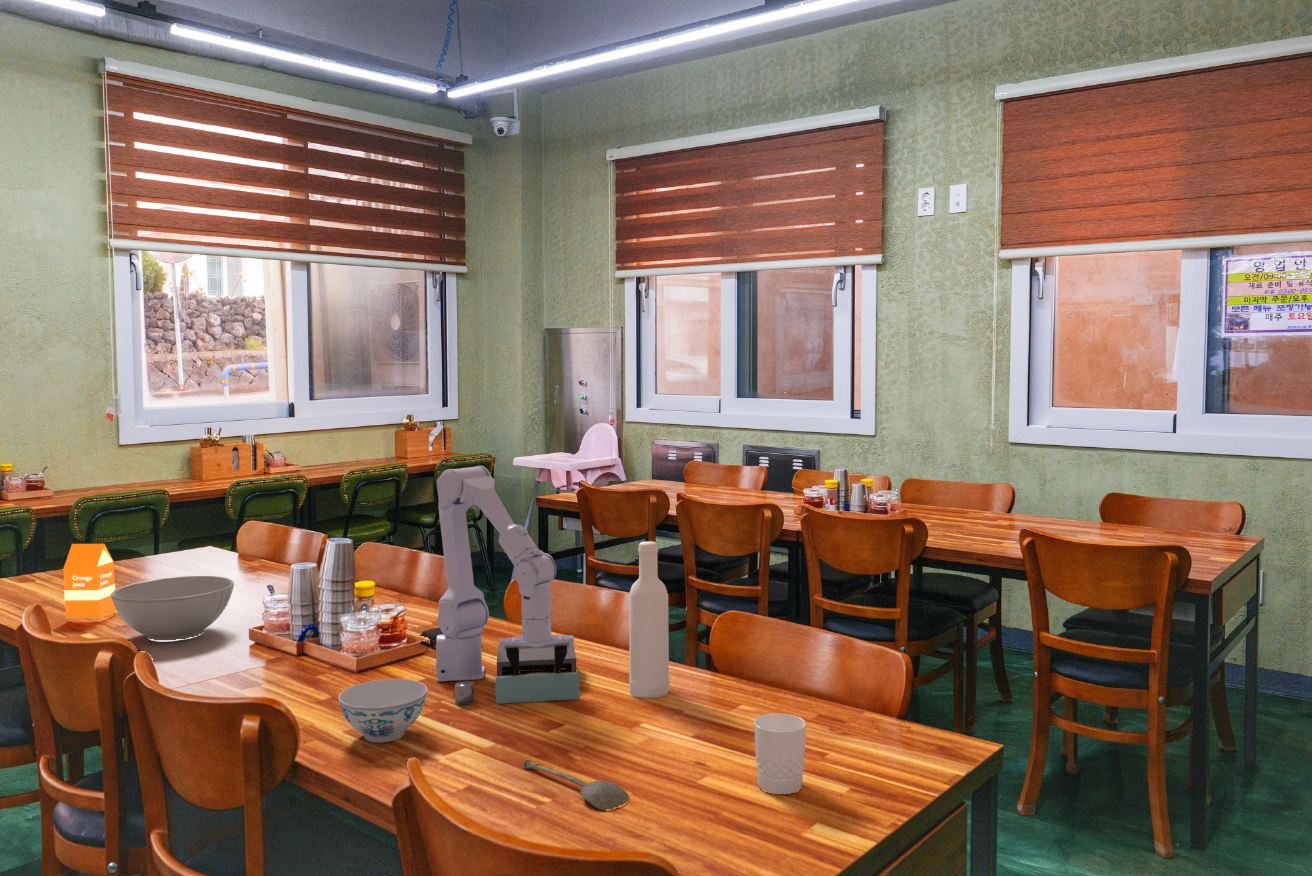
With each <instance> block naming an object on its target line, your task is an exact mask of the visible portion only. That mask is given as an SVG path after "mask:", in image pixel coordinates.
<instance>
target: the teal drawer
mask: <svg viewBox="0 0 1312 876" xmlns="http://www.w3.org/2000/svg"><path fill="white" fill-rule="evenodd" d="M546 673H547V674H533V675H527V674H528V673H520V675H515V674H513V673H512V674H503V676H497V675H495V677H494V678H495V704H496V705H497V704H510V703H513V704H514V703H529V702H547V701H548V702H549V701H550V702H551V701H566V700H567V701H568V700H580V673H579V671H577V672H573V673H570V671H560V673H554V671H552V672H546Z"/></svg>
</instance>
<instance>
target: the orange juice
mask: <svg viewBox="0 0 1312 876" xmlns="http://www.w3.org/2000/svg"><path fill="white" fill-rule="evenodd" d="M114 562H115V561H114V560H113V558H112V556H111V554H110V552H109V551H108V549H107V547H106V544H105V543H71V546H70V549H69V552H68V555H67V558H66V559H65V563H64V566H63V582H64V584H63V588H64V590H63V591H64V605H65V606H64V607H65V608H64V609H65V610H64V611H65V619H66V618H98V619H100V618H103V617H104V616H108V615H111V614H113V613H116V614H117V610H116V608H115V606H114V604H113V602H112V599H111V593H112V592H113V591H114V590H116V583H115V565H114V564H115V563H114Z"/></svg>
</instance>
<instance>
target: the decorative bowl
mask: <svg viewBox="0 0 1312 876" xmlns="http://www.w3.org/2000/svg"><path fill="white" fill-rule="evenodd" d="M234 586H235V582H234V581H233V580H232V579H231V578H227V577H223V576H215V575H214V576H213V575H190V576H189V575H186V576H173V577H164V578H163V577H162V578H155V579H150V580H144V581H139V582H135V583H134V582H133V583H130V584H126V585H122V586H120V587H118V588H115V590H114V591H113V592H112V593H111V599H112V602H113V604H114V606H115V608H116V613H117V614H118V615H119V617H120V618H121V619H122V620H123V621H124V622H125V624H126V625H128V626H129V627H130V628H131V629H132V630H134V631H135V632H136V633H139V634H142V635H144V636H146V638H147V637H148V638H149V639H154V640H176V639H186V638H189V637H194V636H198V635H199V634H202V633H203V632H204V631H205V629H206V628H208V627H209V626H211V625H212V624H213V623H214V622H215V621H217V619H219V618H220V616H221V615H222V614H223V612H224V611H225V610H226V607H227V606H228V604H229V601H230V600H231V597H232V594H233V590H234ZM203 634H204V633H203ZM203 634H202V635H203Z"/></svg>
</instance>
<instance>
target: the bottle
mask: <svg viewBox="0 0 1312 876" xmlns="http://www.w3.org/2000/svg"><path fill="white" fill-rule="evenodd" d="M637 551H638V570H639V571H638V574H639V575H638V579H637V580H636V581H635V582H633V584H632V585H631V588H630V590H629V593H628V636H629V637H628V639H629V640H628V641H629V643H628V645H629V646H628V647H629V649H628V650H629V652H628V653H629V656H628V657H629V661H628V662H629V675H628V676H629V677H628V685H629V694H631V695H632V696H634V697H636V698H639V699H645V698H648V699H651V698H652V699H659V698H662V697H665V696H667V695H668V693H669V691H670V675H669V673H670V671H669V670H670V669H669V668H670V667H669V666H670V662H669V658H670V657H669V656H670V655H669V654H670V652H669V643H670V641H669V636H670V635H669V593H668V590H667V587H666V585H665V583H663V581H661V579H659V575H658V574H659V573H658V553H659V548H658V543H657V542H656V541H642V542H640V543H639V544H638V550H637Z"/></svg>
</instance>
